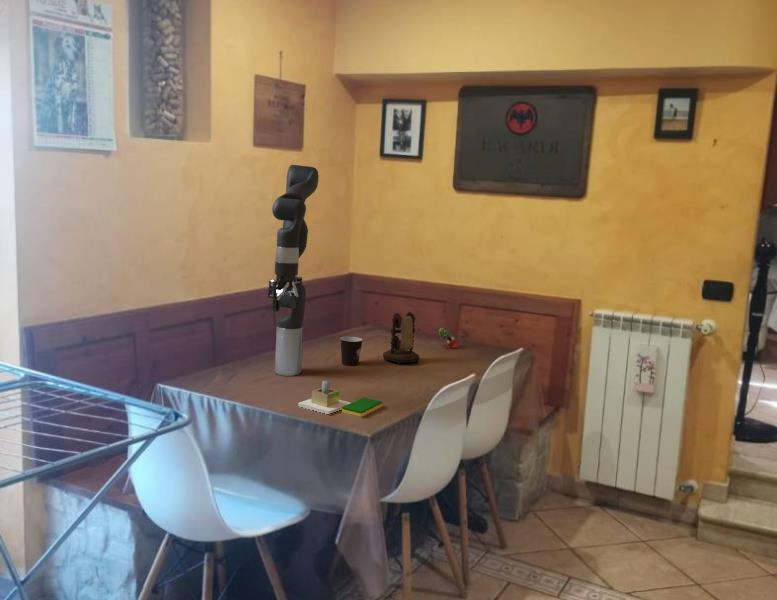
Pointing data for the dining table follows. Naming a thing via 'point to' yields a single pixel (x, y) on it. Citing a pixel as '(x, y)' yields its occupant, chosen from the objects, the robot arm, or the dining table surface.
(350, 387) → the dining table surface
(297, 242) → the robot arm
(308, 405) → the post board
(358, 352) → the black tapered cylinder
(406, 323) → the scroll
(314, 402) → the collar
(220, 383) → the dining table surface
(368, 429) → the dining table surface
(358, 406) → the dish sponge
